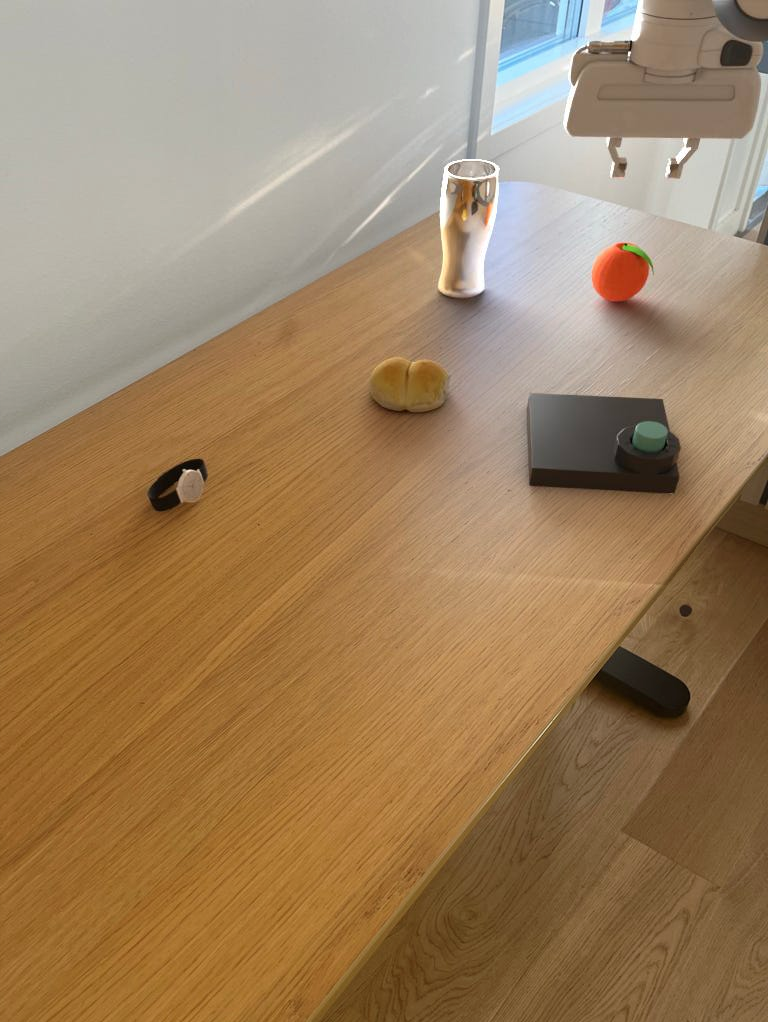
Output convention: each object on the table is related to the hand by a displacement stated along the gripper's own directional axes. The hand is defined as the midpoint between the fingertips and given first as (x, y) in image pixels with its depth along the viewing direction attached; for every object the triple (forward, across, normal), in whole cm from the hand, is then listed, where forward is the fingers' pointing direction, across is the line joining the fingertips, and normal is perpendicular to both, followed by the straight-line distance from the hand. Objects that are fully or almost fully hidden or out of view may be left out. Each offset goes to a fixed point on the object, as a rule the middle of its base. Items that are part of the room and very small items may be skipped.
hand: (644, 176), depth 110 cm
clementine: (+15, 0, 0) cm, 15 cm away
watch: (+15, -47, -46) cm, 68 cm away
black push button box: (+15, -5, -34) cm, 38 cm away
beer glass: (+15, -20, +2) cm, 25 cm away
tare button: (+11, -1, -38) cm, 40 cm away
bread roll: (+15, -25, -25) cm, 38 cm away
